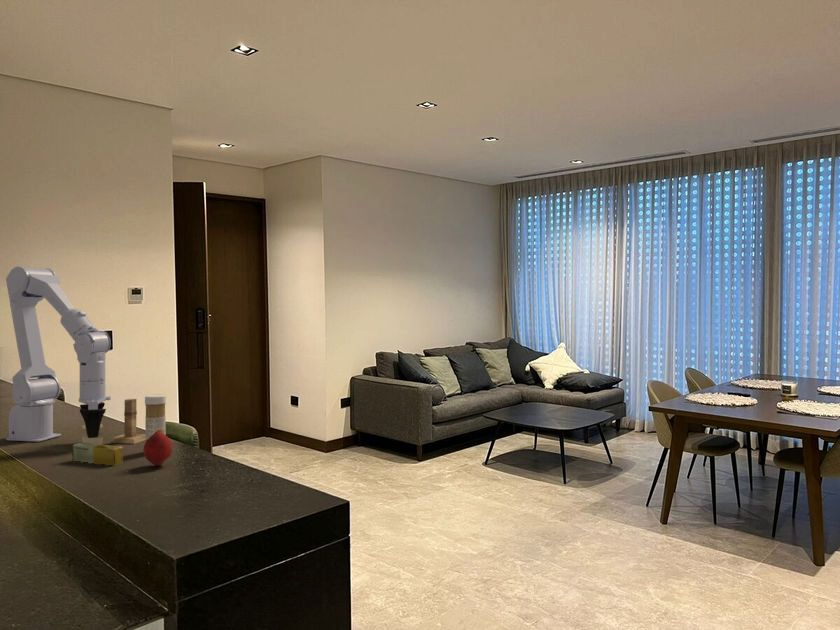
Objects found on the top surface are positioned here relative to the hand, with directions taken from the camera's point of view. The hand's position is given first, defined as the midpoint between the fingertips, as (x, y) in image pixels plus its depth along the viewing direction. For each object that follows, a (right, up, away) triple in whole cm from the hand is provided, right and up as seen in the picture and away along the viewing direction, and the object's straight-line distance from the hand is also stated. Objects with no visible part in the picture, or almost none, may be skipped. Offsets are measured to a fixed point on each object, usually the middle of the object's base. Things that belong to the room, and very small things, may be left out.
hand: (92, 434), depth 156 cm
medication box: (+10, -3, -18) cm, 21 cm away
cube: (0, -2, 0) cm, 2 cm away
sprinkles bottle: (+19, -3, -8) cm, 21 cm away
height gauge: (+8, -2, +4) cm, 9 cm away
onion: (+25, -3, -21) cm, 33 cm away
